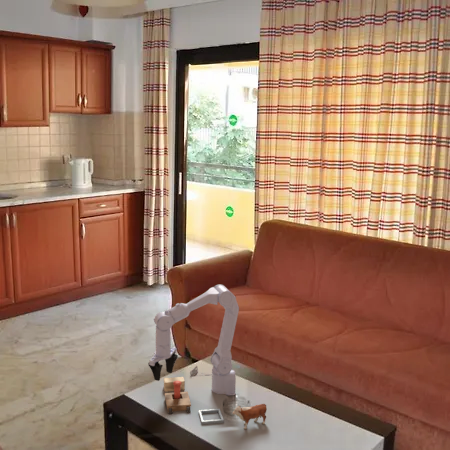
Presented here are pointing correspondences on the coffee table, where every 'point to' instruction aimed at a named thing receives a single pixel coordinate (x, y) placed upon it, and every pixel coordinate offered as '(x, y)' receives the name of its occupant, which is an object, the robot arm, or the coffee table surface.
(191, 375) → the bracket
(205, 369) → the coffee table surface
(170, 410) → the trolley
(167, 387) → the block
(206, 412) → the grey square frame
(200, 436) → the coffee table surface
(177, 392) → the pin
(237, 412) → the bull figurine
